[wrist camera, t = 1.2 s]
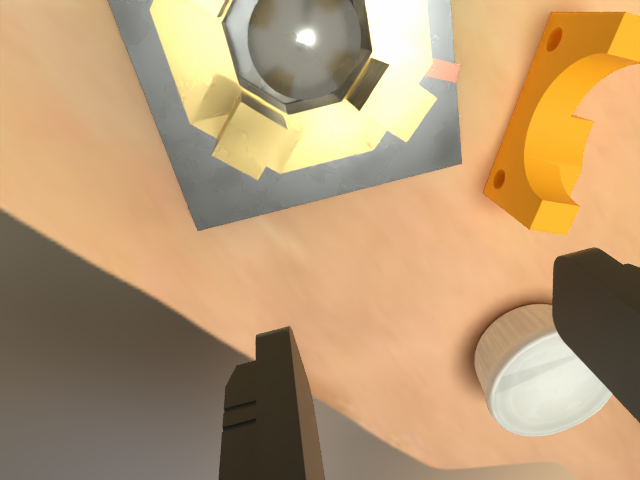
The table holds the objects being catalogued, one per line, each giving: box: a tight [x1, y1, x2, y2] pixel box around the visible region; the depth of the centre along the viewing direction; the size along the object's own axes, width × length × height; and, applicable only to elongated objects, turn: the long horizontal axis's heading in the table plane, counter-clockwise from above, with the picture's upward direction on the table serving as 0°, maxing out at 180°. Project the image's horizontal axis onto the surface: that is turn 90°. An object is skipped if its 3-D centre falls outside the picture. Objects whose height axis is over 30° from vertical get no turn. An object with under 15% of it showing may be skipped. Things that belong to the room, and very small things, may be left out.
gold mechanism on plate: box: [108, 0, 462, 231], centre depth 23 cm, size 20×18×8 cm
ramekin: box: [475, 304, 612, 436], centre depth 38 cm, size 11×11×5 cm
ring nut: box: [150, 0, 437, 180], centre depth 22 cm, size 13×13×7 cm
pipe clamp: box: [483, 12, 640, 235], centre depth 28 cm, size 12×4×6 cm, turn 169°
